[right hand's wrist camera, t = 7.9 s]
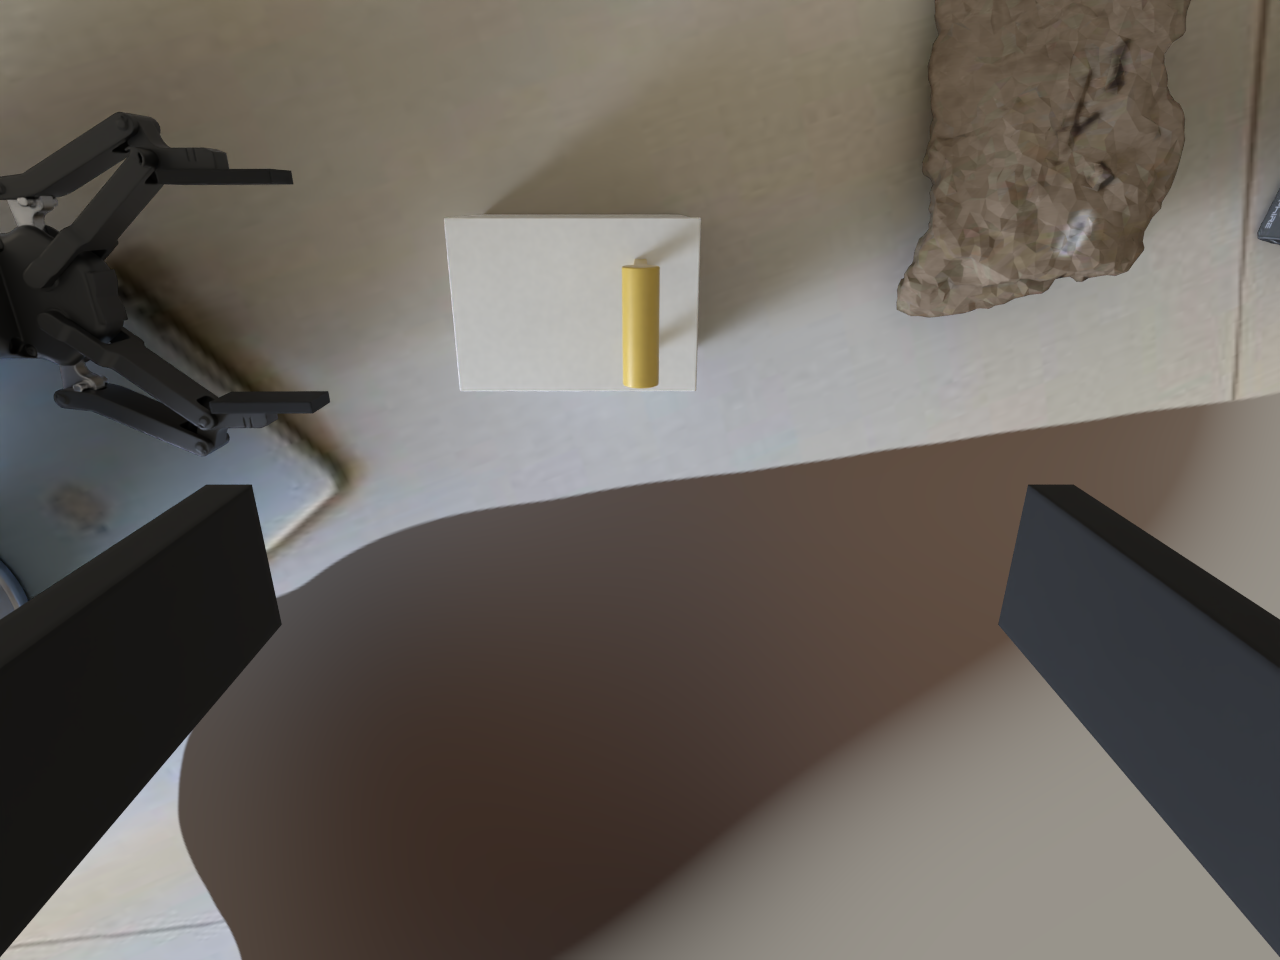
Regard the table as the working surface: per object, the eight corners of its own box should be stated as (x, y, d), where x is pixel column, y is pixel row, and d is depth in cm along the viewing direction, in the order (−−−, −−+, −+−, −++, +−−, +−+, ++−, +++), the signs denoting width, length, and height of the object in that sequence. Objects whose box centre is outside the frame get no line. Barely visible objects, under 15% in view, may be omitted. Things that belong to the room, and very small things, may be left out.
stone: (1122, 324, 48) (1165, 323, 42) (890, 317, 51) (901, 315, 45) (1183, -30, 43) (1241, -85, 38) (925, -14, 47) (942, -63, 41)
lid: (699, 217, 40) (714, 221, 32) (695, 387, 43) (707, 428, 36) (447, 217, 40) (400, 220, 32) (463, 387, 43) (424, 428, 36)
